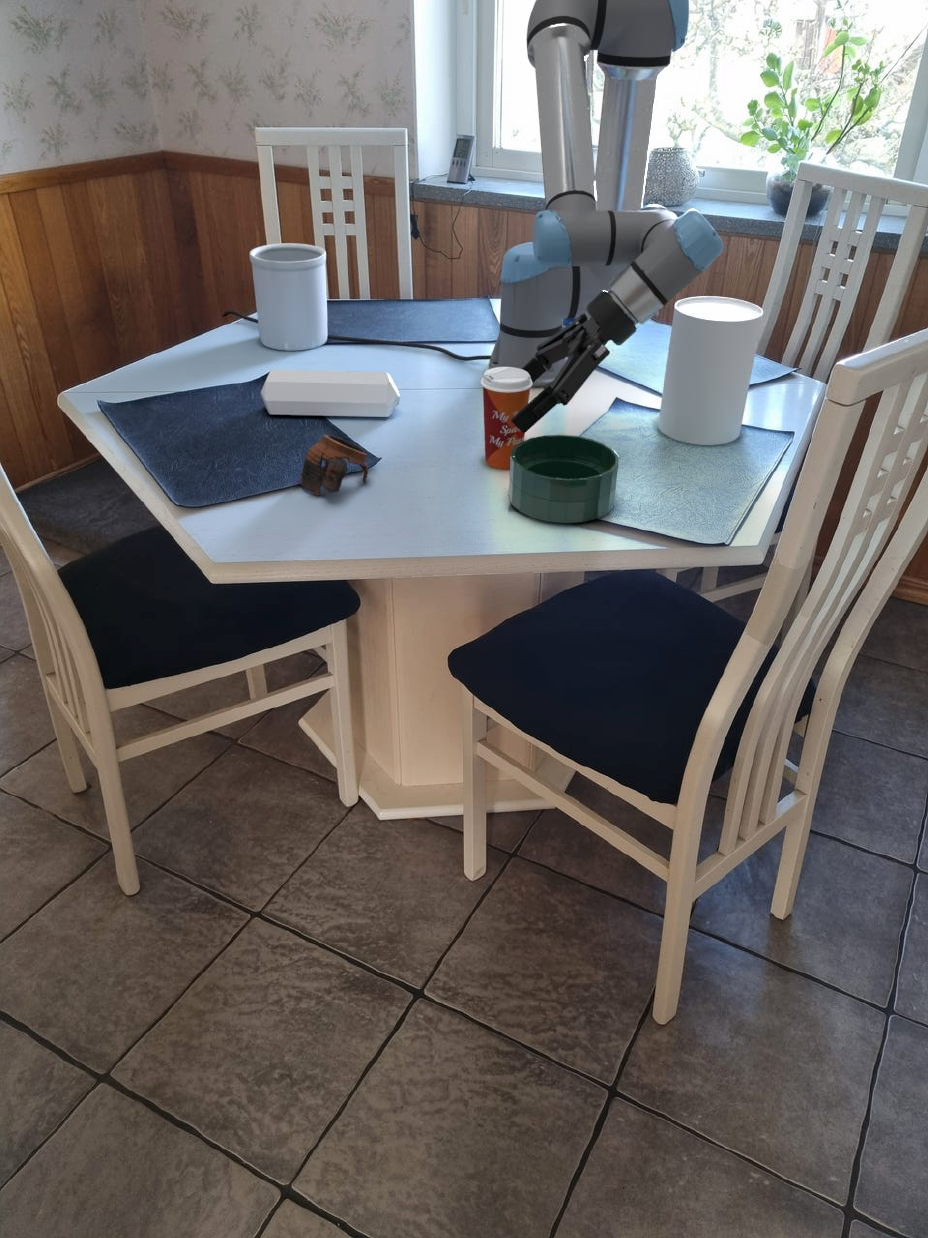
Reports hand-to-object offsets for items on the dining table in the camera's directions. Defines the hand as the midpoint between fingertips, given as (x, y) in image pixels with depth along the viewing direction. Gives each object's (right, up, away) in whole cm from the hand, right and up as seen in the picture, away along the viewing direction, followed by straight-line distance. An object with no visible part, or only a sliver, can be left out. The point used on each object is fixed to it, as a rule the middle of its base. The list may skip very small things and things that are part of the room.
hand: (512, 409), depth 140 cm
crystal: (-30, +4, +21) cm, 37 cm away
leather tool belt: (-26, -12, -3) cm, 29 cm away
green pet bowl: (+7, -15, -6) cm, 17 cm away
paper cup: (-1, -7, +5) cm, 9 cm away
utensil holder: (-42, +26, +52) cm, 72 cm away
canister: (+32, 0, +17) cm, 36 cm away
